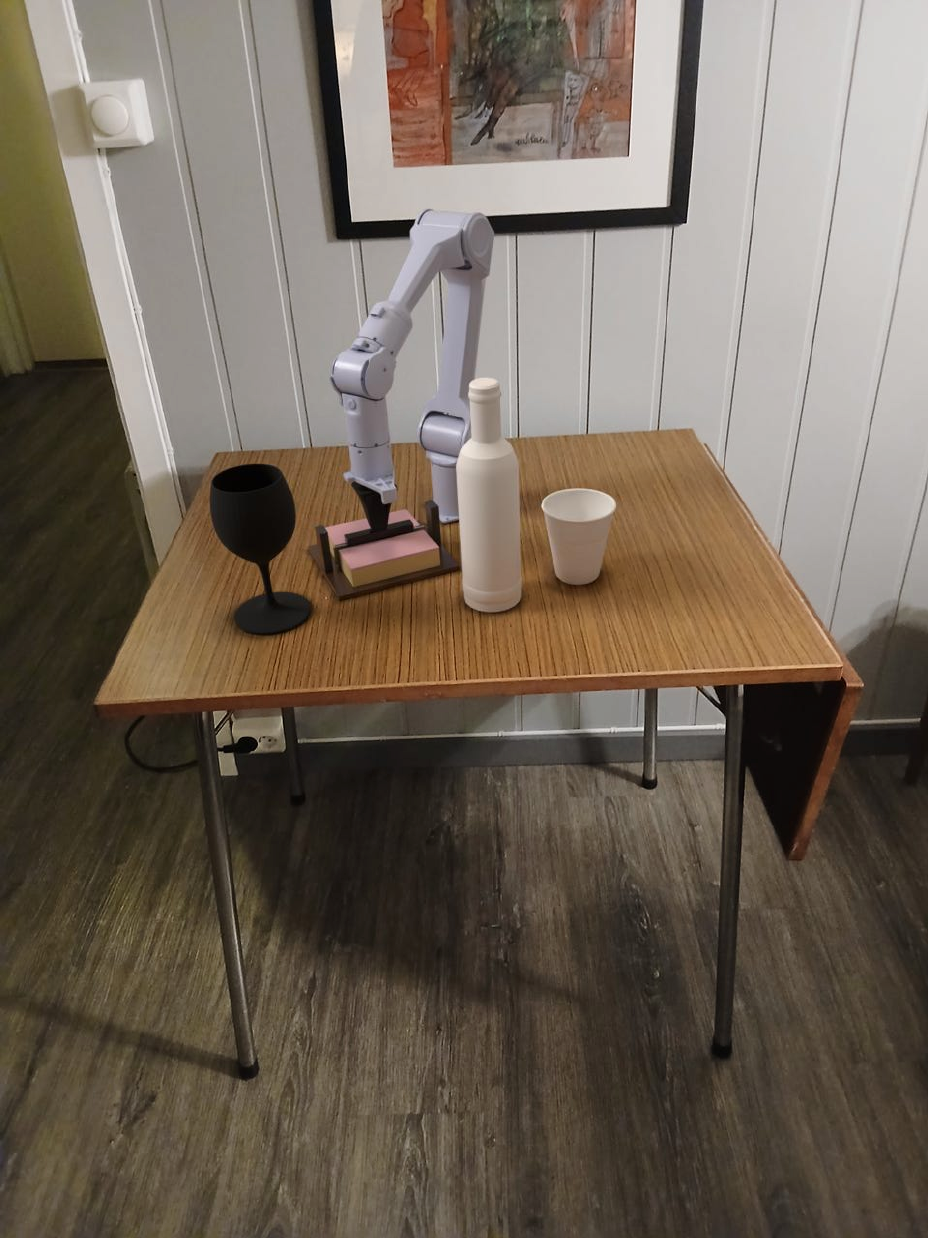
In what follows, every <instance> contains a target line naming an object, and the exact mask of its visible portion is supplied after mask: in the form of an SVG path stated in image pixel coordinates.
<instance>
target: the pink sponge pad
mask: <svg viewBox="0 0 928 1238" xmlns="http://www.w3.org/2000/svg"><path fill="white" fill-rule="evenodd" d="M408 519H410V520H411V521H412V523H413V525H414V528H415V527H419V526H420V525H419V523H418V522H417V520H416V519H415V517H414V516H413V515H412V514H411V513H410V512H409V511H408V510H407V508H406V509H400V510H395V511H392V512H391V511H390V513H389V520H388V524H391V523H395V522H400V521H404V520H408ZM325 529H326V530H327V532H328V537H329V544H330V551H331V553H332V555H333V557H334V551H333V547H335V546H339V545H343V544H347V543H346V542H345V537H344V535H345V534H349V533H353V532H357V531H361V530H366V529H370V526H369V523H368V521H367V518H366V517H365V518H361V519H357V520H353V521H348V522H344V523H339V524H335V525H330V526H326V527H325ZM338 551H339V557H340V564H341V569H342V570H343V572H344V573H345V575H346V577H347V578H348V580H349V581H350V583H351V584H352V586H353V587H357V586H361V585H365V584H369V583H373V582H376V581H380V580H384V579H388V578H392V577H396V576H400V575H404V574H408V573H412V572H416V571H420V570H424V569H428V568H432V567H436V566H440V556H439V547H438V545H437V544H436V543H435V542H434V541H433V540H432V538H431V537H430V536H429V535H428V534H427V533H426V532H425V530H420V531H416V532H412V533H408V534H404V535H399V536H395V537H391V538H387V539H383V540H378V541H374V542H370V543H366V544H362V545H358V546H353V547H349V548H345V549H341V550H338Z"/></svg>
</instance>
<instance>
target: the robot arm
mask: <svg viewBox="0 0 928 1238" xmlns="http://www.w3.org/2000/svg"><path fill="white" fill-rule="evenodd" d="M494 238H495V231H494V230H493V227H492V225H491V223H490V221H489V219H488V217H487V216H486V214H484V213H482V212H462V211H461V212H460V211H447V210H436V209H435V210H434V209H433V208H424V209H422V210H421V211H420V212H419V213H418V214H417V216H416V218H415V220H414V223H413V225H412V227H411V228H410V230H409V242H410V244H409V245H410V250H409V252H408V255H407V256H406V259H405V261H404V263H403V266H402V268H401V270H400V271H399V274H398V276H397V278H396V281H395V283H394V285H393V288H392V290H391V292H390V294H389V297H388V298H387V300H383V301H378V302H376V303H375V304H374V305H373V306H372V308H371V310H370V311H369V314H368V316H367V318H366V320H365V321H364V323H363V325H362V327H361V328H360V330H359V332H358V334H357V335H356V336H355V340H353V342H352V344H351V346H350V348H348V349H344V351H341V352H340V353H339V354H337V356H336V357H335V359H334V360H333V362H332V366H331V375H330V376H329V381H330V384H331V385H330V386H331V387H332V389H333V390H334V391H335V392H336V393H337V395H338V402H339V404H340V405H341V407H343V412H344V413H343V414H344V419H345V420H344V421H345V429H346V438H347V445H348V446H347V447H348V453H349V454H348V455H349V460H350V470H349V471H346V472H344V473H343V479H344V480H345V482H347V483H350V486H351V488H352V489H353V490H354V492H355V493H356V495H357V497H358V499H359V501H360V503H361V506H362V509H363V511H364V514H365V518H367V521H368V523H369V526H370V528H371V529H372V531H373V532H378V531H382V530H386V529H387V526H388V520H389V513H391V508H392V503H394V502H398V500H399V499H398V485H397V484H396V483H395V480H396V479H395V478H396V475H395V474H396V473H395V472H396V470H395V466H394V465H393V464H394V463H393V455H392V445H391V444H392V443H391V436H390V435H391V434H390V427H389V425H390V424H389V415H388V414H389V413H388V405H387V395H388V393H389V392H390V390H391V389H392V387H393V383H394V379H395V378H394V377H395V369H396V368H397V360H396V359H397V357H398V355H399V353H400V351H401V350H402V348H403V346H404V344H405V343H406V341H407V339H408V337H409V335H410V333H411V331H412V330H413V327H414V324H413V323H414V322H413V319H412V316H411V314H412V312H413V311H414V309H415V308H416V306H417V304H418V303H419V302H420V300H421V298H422V297H423V295H424V294H425V292H426V291H427V289H428V288H429V286H430V285H431V283H432V282H433V280H434V279H435V278H436V276H437V275H438V273H439V272H440V273H441V275H443V277H444V279H445V280H446V282H447V283H448V284H447V285H448V288H447V299H446V307H445V319H444V328H443V336H442V337H443V339H442V346H441V347H442V348H441V356H440V357H441V358H440V366H439V367H440V368H439V377H438V388H437V393H436V394H434V396H432V397H431V398H429V399H428V400H427V401H425V402H424V404H423V408H422V414H421V418H420V420H419V422H418V425H417V428H416V429H417V430H416V440H417V443H418V446H419V447H420V449H421V450H422V451H425V456H426V459H429V461H430V469H431V471H430V472H431V484H432V497H433V498H432V500H433V501H434V502H435V503H436V504H437V505H438V506H439V520H440V523H442V524H449V523H452V522H457V521H459V506H458V490H457V473H456V464H457V460H458V457H459V454H460V450H461V448H462V446H463V445H464V444H465V443H466V442H467V441H468V440H469V439H470V438H471V417H470V399H469V397H468V392H469V384H470V382H471V381H473V380H475V379H476V369H477V361H478V352H479V343H480V334H481V326H482V317H483V310H484V309H483V308H484V300H485V290H486V283H487V282H486V281H487V277H489V276H490V274H491V265H492V257H493V249H494V241H495V239H494Z"/></svg>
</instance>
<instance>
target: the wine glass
mask: <svg viewBox="0 0 928 1238" xmlns="http://www.w3.org/2000/svg"><path fill="white" fill-rule="evenodd" d="M209 512H210V519H211V523H212V526H213V530H214V531H215V534H216V536H217V538H218V539H219V541H220V542H221V544H222V545H223V546H224V547H225V548H226V549H227V550H228V551H229V552H231V553H232V554H233V555H235V556H237V557H238V558H239V559H242V560H244V561H246V562H249V563H253V564H256V565H257V567H258V570H259V572H260V575H261V579H262V585H263V589H264V593H261V594H259V595H256V596H254V597H251V598H249V599H247V600H246V601H244V602H242V603H241V604H240V606H238V607H237V609H236V610H235V612H234V615H233V621H234V623H235V626H236V627H237V628H238V629H239V630H241V631H242V632H243V633H247V634H250V635H255V636H270V635H278V634H283V633H286V632H290V631H292V630H293V629H296V628H297V627H300V626H301V625H302V624H303V623H304V622H306V621H307V620H308V619H309V617H310V615H311V613H312V612H311V611H312V606H311V602H310V601H309V600H308V599H307V598H306V597H305V596H303V595H301V594H299V593H295V592H291V591H273V587H272V581H271V574H270V563H271V561H272V560H274V559H275V558H276V557H278V555H280V554H281V553H282V552H283V551H284V550H285V548H286V547H287V546H288V545H289V543H290V541H291V539H292V537H293V534H294V532H295V528H296V520H297V519H296V518H297V515H296V504H295V500H294V496H293V493H292V490H291V487H290V486H289V483H288V480H287V479H286V477H285V475H284V473H283V470H281V469H280V468H279V467H277V466H275V465H272V464H268V463H246V464H239V465H235V466H231V467H229V468H226V469H224V470H221V471H220V472H218V473H217V474H215V475H214V476H213V477H212V478H211V481H210V489H209Z"/></svg>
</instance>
